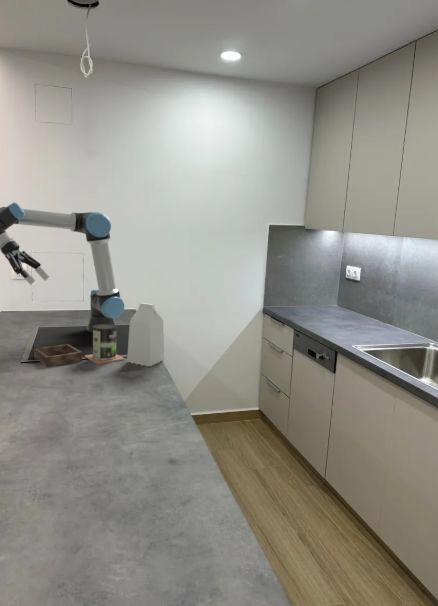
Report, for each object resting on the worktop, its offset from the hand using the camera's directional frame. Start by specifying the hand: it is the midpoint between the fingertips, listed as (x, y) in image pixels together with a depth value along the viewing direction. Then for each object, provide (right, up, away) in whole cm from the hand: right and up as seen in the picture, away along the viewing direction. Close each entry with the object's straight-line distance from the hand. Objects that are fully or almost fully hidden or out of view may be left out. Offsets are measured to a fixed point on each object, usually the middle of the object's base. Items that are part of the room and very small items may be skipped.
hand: (40, 280), depth 207 cm
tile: (+29, -35, -1) cm, 45 cm away
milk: (+48, -36, -2) cm, 60 cm away
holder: (+10, -35, -6) cm, 36 cm away
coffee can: (+29, -34, -1) cm, 45 cm away
